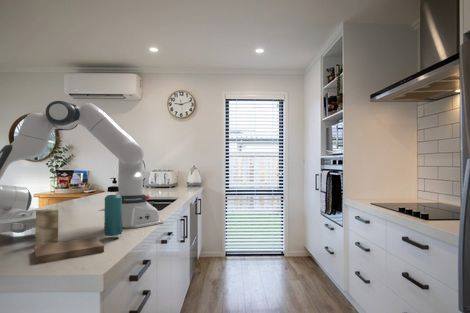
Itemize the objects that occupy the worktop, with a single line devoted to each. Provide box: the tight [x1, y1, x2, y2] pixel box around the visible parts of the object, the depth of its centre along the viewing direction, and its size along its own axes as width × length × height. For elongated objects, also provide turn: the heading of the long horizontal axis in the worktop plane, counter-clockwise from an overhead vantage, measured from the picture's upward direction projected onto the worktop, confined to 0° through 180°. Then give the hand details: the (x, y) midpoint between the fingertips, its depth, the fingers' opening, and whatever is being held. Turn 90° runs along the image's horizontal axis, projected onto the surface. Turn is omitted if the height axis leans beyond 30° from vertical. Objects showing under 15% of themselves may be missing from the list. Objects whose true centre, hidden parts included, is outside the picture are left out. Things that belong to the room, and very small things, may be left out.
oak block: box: [35, 208, 59, 246], centre depth 102 cm, size 5×5×12 cm
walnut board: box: [33, 236, 105, 265], centre depth 92 cm, size 18×14×2 cm
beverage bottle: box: [103, 185, 123, 237], centre depth 110 cm, size 6×7×20 cm
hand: (38, 224), depth 105 cm, fingers open, 8 cm apart
